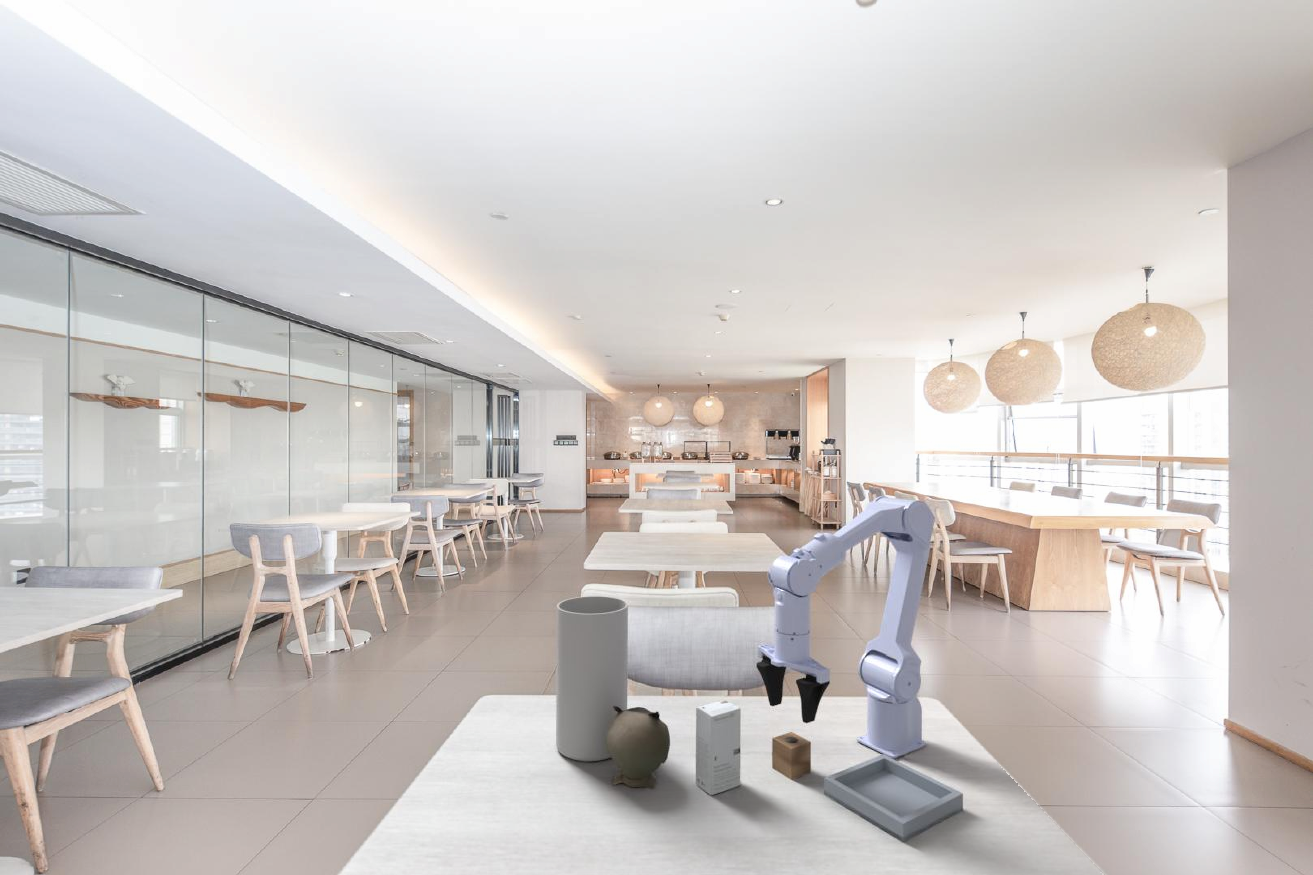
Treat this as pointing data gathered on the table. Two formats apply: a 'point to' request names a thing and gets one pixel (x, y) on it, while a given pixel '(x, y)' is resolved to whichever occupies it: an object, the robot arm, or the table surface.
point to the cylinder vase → (590, 673)
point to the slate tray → (893, 796)
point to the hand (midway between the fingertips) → (791, 712)
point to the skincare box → (718, 747)
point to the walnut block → (791, 755)
